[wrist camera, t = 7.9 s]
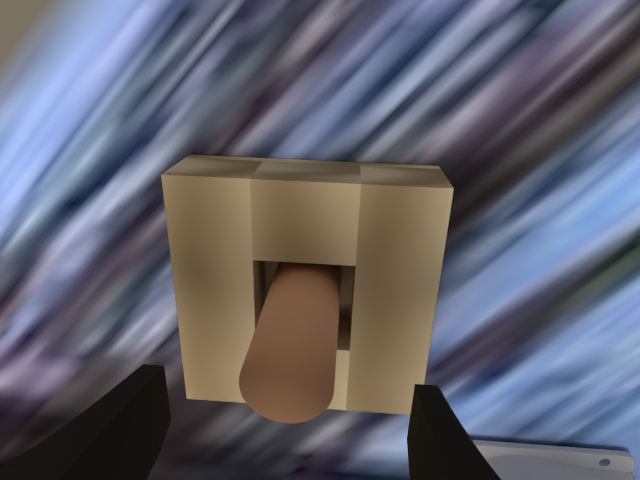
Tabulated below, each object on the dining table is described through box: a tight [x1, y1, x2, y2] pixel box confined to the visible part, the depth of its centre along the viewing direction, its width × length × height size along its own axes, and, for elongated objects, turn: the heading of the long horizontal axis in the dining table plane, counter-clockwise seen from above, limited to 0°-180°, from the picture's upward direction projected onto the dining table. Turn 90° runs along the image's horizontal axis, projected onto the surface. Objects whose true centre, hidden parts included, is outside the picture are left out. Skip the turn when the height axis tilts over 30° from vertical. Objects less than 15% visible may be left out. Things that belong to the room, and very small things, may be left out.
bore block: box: [161, 155, 454, 415], centre depth 19 cm, size 10×10×3 cm
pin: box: [239, 262, 342, 423], centre depth 17 cm, size 3×3×7 cm
